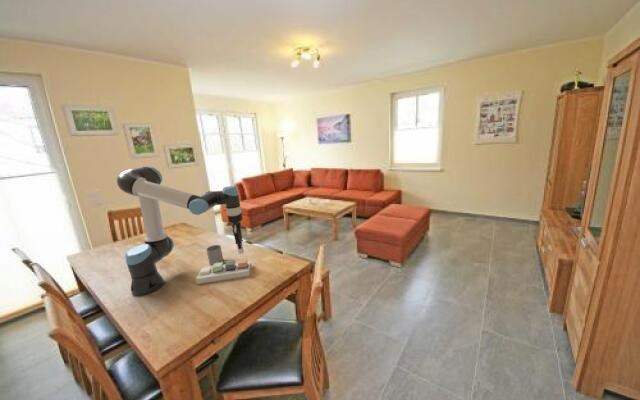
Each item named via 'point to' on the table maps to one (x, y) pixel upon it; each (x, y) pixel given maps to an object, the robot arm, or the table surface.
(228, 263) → the key charcoal
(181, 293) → the table surface
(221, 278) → the keypad
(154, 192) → the robot arm
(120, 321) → the table surface
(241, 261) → the key terracotta
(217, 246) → the cup
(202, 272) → the key cream
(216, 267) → the key sage
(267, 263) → the table surface
